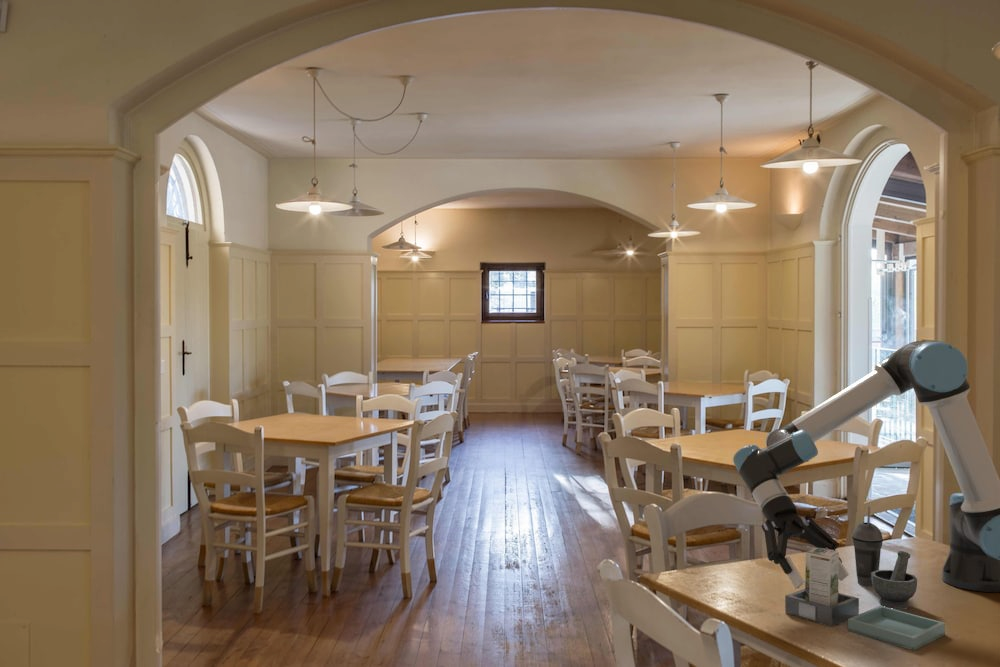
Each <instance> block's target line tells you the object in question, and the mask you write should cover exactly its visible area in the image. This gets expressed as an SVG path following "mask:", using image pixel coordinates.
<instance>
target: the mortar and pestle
mask: <svg viewBox="0 0 1000 667" xmlns="http://www.w3.org/2000/svg"><path fill="white" fill-rule="evenodd" d="M910 558H911V554H910V553H909V552H907V551H904V550H898V551H897V559H896V562H895V564H894V567H893V570H892V569H879V570H877V571H874V572H871V580H872V585H873V587H872V588H873V589H874V591H875V592H876V595H878V596H879V601H878V602H879V604H880V605H879V606H885V607H887V608H893V609H895V610H906V609H908V608H909V601H910V599H911V598H913V597H914V595H915V593H916V592H917V587H918V578H917V577H916V575H914V574H911V573H908V572H907V570H908V564H909V559H910ZM905 608H906V609H905Z"/></svg>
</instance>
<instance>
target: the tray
mask: <svg viewBox="0 0 1000 667" xmlns="http://www.w3.org/2000/svg"><path fill="white" fill-rule="evenodd" d="M847 631H848V632H851V633H854V634H858V635H861V636H864V637H867V636H868V638H870V637H872V638H871V639H874V640H877V639H878V640H877V641H880V640H881V642H885V643H887V644H891V645H893V646H898V647H901V648H903V649H908V650H909V651H910V650H911V651H914V652H915V651H916V650H918V649H920V648H922V647H924V646H926V645H928V644H930V643H931V642H934V641H936V640H937V639H940V638H942V637H943V636H945V635H946V623H945V622H943V621H939V620H936V619H932V618H928V617H925V616H920V615H917V614H913V613H909V612H905V611H902V610H900V609H891V608H887V607H884V606H882V605H879V606H876V607H874V608H871V609H869V610H866V611H865V612H864V611H863V612H862V613H859V615H857V616H854V617H852V618H849V619H848V621H847Z"/></svg>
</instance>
